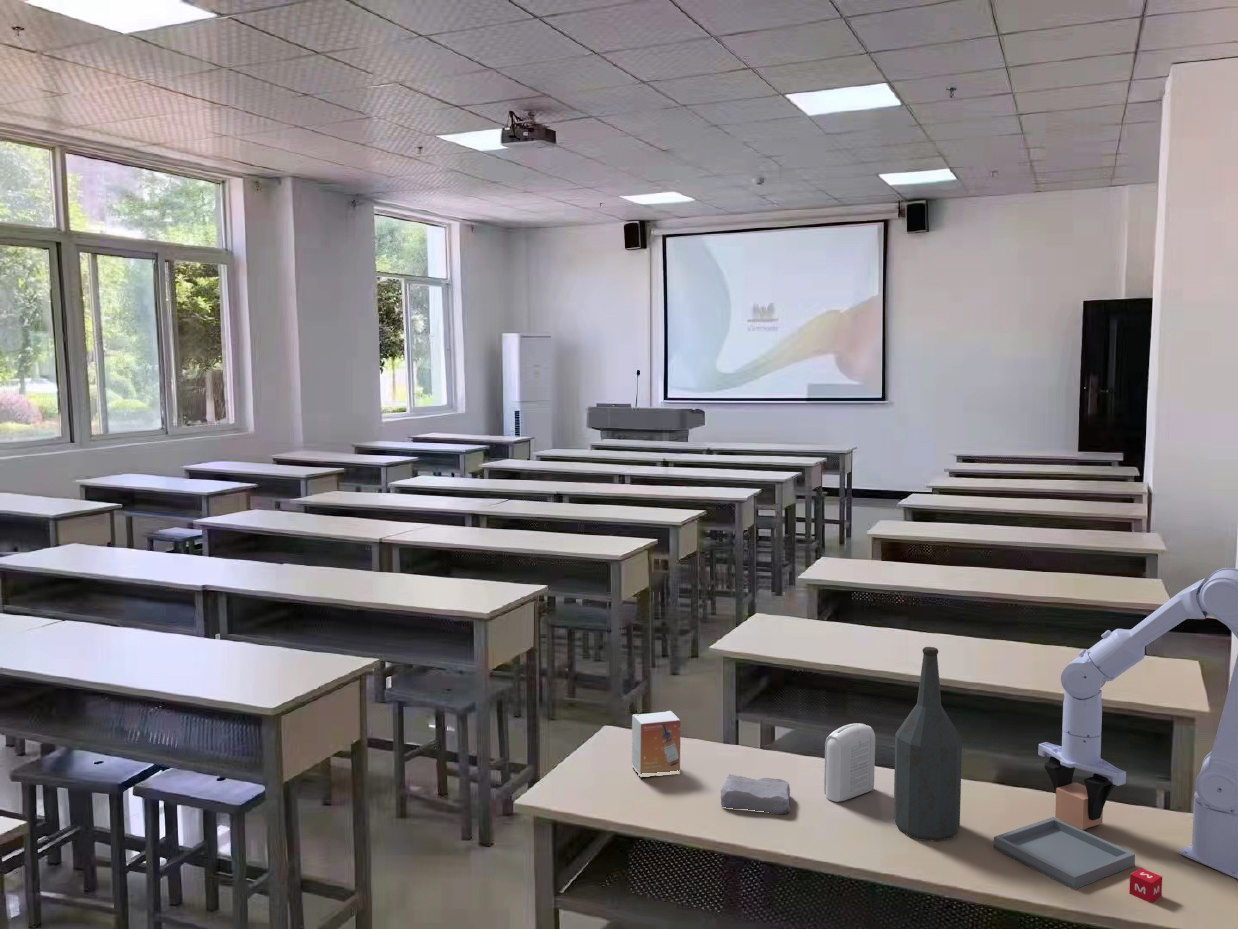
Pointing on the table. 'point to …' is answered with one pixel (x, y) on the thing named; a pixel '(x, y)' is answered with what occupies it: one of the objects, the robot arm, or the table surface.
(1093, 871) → the tray
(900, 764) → the bottle
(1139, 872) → the red letter cube
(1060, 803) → the wooden cube
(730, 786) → the stone block
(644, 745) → the small box
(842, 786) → the photo printer
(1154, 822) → the table surface
